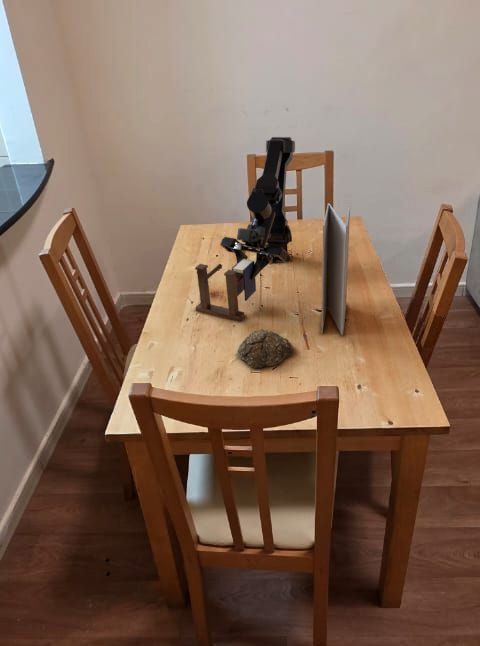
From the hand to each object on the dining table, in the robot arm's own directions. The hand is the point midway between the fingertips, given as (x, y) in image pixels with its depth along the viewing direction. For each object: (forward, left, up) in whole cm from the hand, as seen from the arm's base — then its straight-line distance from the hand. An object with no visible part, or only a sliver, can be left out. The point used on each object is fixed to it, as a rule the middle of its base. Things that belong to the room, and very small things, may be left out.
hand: (244, 278), depth 154 cm
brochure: (-22, +13, -8) cm, 27 cm away
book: (0, 0, -5) cm, 5 cm away
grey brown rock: (-1, +24, -9) cm, 26 cm away
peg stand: (+5, 0, -8) cm, 10 cm away
